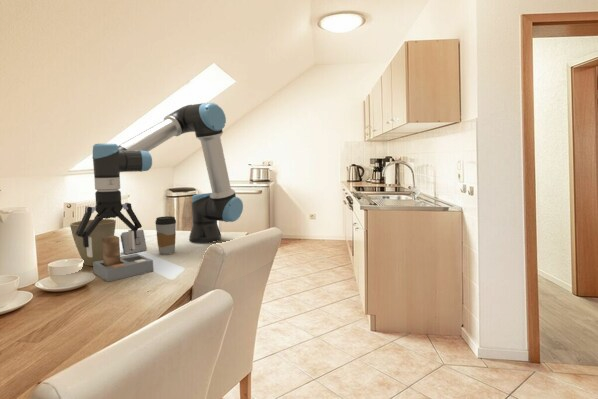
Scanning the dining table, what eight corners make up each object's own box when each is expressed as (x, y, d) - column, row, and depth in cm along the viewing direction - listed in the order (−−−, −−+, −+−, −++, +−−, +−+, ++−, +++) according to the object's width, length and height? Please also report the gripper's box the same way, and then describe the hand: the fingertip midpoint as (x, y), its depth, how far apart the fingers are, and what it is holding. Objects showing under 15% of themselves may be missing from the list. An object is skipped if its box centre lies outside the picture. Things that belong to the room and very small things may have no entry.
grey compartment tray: (137, 264, 135) (136, 252, 134) (153, 271, 126) (152, 259, 125) (93, 273, 123) (92, 261, 123) (108, 281, 115) (107, 268, 114)
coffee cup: (181, 251, 154) (180, 216, 152) (168, 255, 146) (167, 219, 144) (165, 249, 157) (164, 215, 155) (151, 254, 149) (150, 218, 147)
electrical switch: (125, 255, 147) (123, 232, 147) (120, 254, 151) (117, 232, 150) (147, 250, 155) (145, 229, 154) (141, 250, 158) (139, 229, 158)
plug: (116, 269, 125) (114, 235, 123) (120, 271, 122) (119, 237, 121) (103, 271, 122) (101, 237, 120) (108, 274, 119) (106, 239, 118)
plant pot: (124, 257, 143) (122, 218, 141) (106, 269, 128) (103, 225, 127) (86, 258, 143) (84, 218, 141) (63, 269, 128) (60, 225, 126)
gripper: (68, 193, 107) (73, 262, 110) (149, 188, 126) (152, 247, 128) (61, 192, 112) (66, 258, 114) (140, 187, 131) (143, 244, 133)
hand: (111, 252), depth 121 cm, fingers open, 13 cm apart
